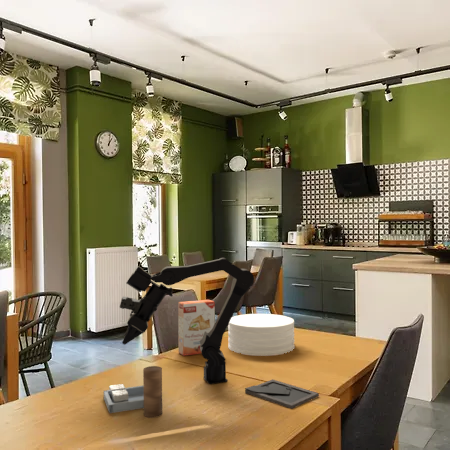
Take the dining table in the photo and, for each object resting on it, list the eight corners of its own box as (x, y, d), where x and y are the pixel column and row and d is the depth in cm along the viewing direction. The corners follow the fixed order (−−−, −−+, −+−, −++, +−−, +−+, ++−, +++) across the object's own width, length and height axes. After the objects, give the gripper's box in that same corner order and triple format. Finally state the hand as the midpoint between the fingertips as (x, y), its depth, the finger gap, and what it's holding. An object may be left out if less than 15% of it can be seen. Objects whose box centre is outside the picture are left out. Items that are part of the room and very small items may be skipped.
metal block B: (126, 403, 136) (125, 389, 136) (128, 408, 132) (128, 393, 132) (111, 405, 135) (111, 391, 135) (114, 410, 131) (113, 395, 131)
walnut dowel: (159, 411, 132) (159, 365, 131) (164, 418, 127) (163, 370, 127) (142, 414, 130) (141, 367, 130) (145, 421, 125) (145, 372, 125)
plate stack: (215, 349, 197) (214, 322, 197) (250, 336, 220) (250, 311, 220) (274, 360, 181) (273, 330, 181) (305, 344, 204) (305, 317, 204)
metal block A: (123, 397, 141) (123, 383, 141) (125, 401, 137) (125, 388, 137) (109, 399, 139) (109, 385, 139) (111, 403, 135) (111, 390, 135)
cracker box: (183, 356, 186) (183, 303, 186) (178, 353, 191) (177, 301, 191) (215, 352, 192) (215, 300, 192) (209, 348, 198) (208, 298, 198)
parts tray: (150, 394, 145) (150, 384, 145) (159, 408, 134) (159, 397, 134) (103, 400, 140) (103, 390, 140) (109, 416, 129) (109, 405, 129)
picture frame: (245, 394, 146) (291, 411, 133) (245, 388, 146) (291, 404, 133) (272, 384, 155) (318, 398, 142) (272, 378, 155) (318, 391, 142)
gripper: (133, 283, 163) (106, 321, 162) (129, 290, 144) (99, 333, 143) (159, 300, 164) (134, 338, 163) (159, 310, 146) (130, 353, 144)
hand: (124, 340), depth 153 cm, fingers open, 9 cm apart
